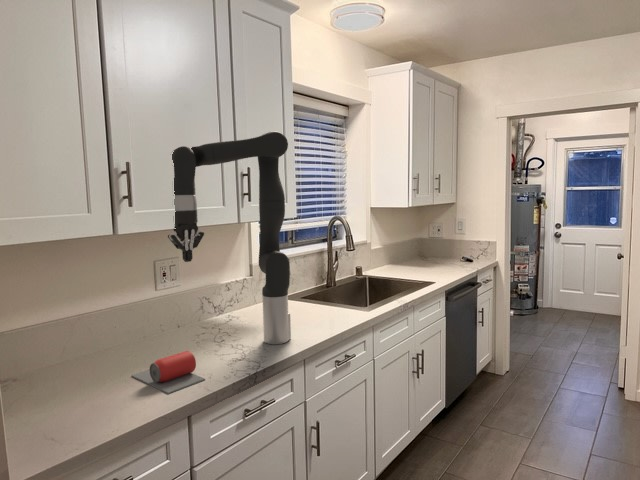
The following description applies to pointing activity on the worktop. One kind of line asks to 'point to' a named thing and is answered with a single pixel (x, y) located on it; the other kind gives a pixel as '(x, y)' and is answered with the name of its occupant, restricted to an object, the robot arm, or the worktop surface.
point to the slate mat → (169, 381)
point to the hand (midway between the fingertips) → (187, 261)
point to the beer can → (172, 366)
